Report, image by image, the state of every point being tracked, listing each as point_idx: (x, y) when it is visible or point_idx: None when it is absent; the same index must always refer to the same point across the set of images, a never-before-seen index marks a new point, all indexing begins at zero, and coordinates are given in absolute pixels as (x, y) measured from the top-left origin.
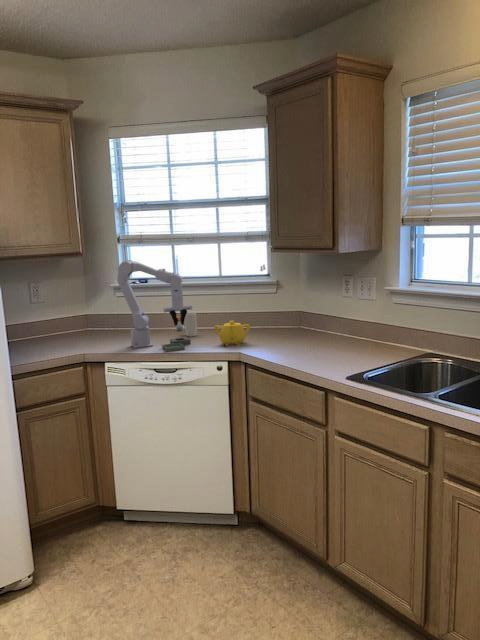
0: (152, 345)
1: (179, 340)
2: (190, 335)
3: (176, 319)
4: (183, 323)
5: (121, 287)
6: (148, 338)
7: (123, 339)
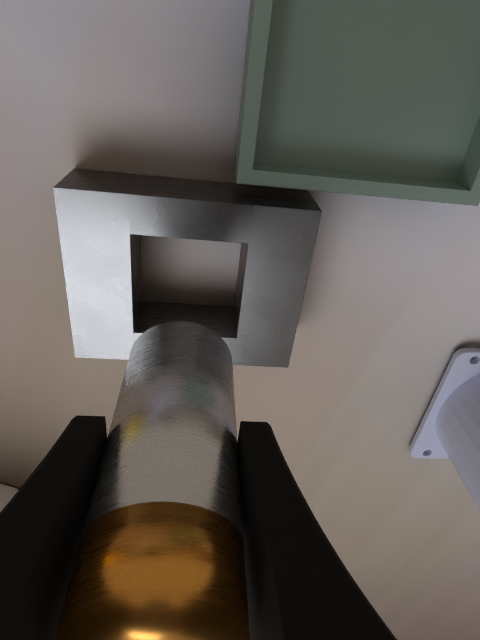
0: (460, 350)
1: (219, 232)
2: (5, 491)
3: (240, 570)
4: (69, 432)
5: None
6: None
7: (454, 590)
